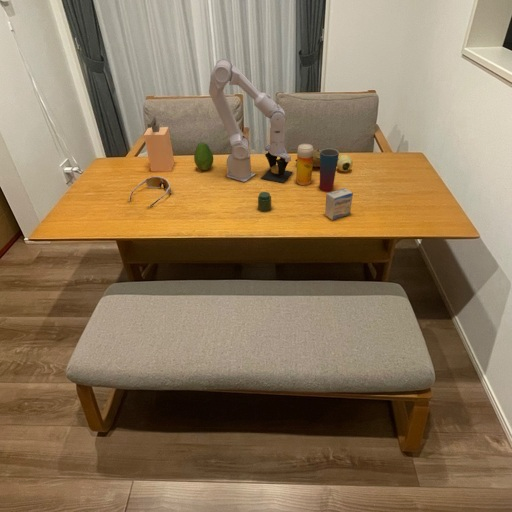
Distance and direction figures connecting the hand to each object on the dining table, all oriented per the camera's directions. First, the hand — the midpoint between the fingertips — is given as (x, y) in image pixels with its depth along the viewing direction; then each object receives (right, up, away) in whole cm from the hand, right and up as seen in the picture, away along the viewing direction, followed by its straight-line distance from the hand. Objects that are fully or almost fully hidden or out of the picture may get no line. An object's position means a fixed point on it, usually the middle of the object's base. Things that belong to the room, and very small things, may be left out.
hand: (277, 172), depth 159 cm
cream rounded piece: (+28, +1, +3) cm, 28 cm away
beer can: (+10, -5, -4) cm, 12 cm away
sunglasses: (-49, -11, -9) cm, 51 cm away
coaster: (0, -1, +1) cm, 2 cm away
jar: (-6, -17, -19) cm, 26 cm away
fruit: (-31, +3, +8) cm, 32 cm away
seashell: (+16, +4, +7) cm, 18 cm away
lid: (0, +1, -1) cm, 2 cm away
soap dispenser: (-50, +3, +9) cm, 51 cm away
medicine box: (+20, -20, -24) cm, 37 cm away
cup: (+19, -8, -8) cm, 22 cm away
